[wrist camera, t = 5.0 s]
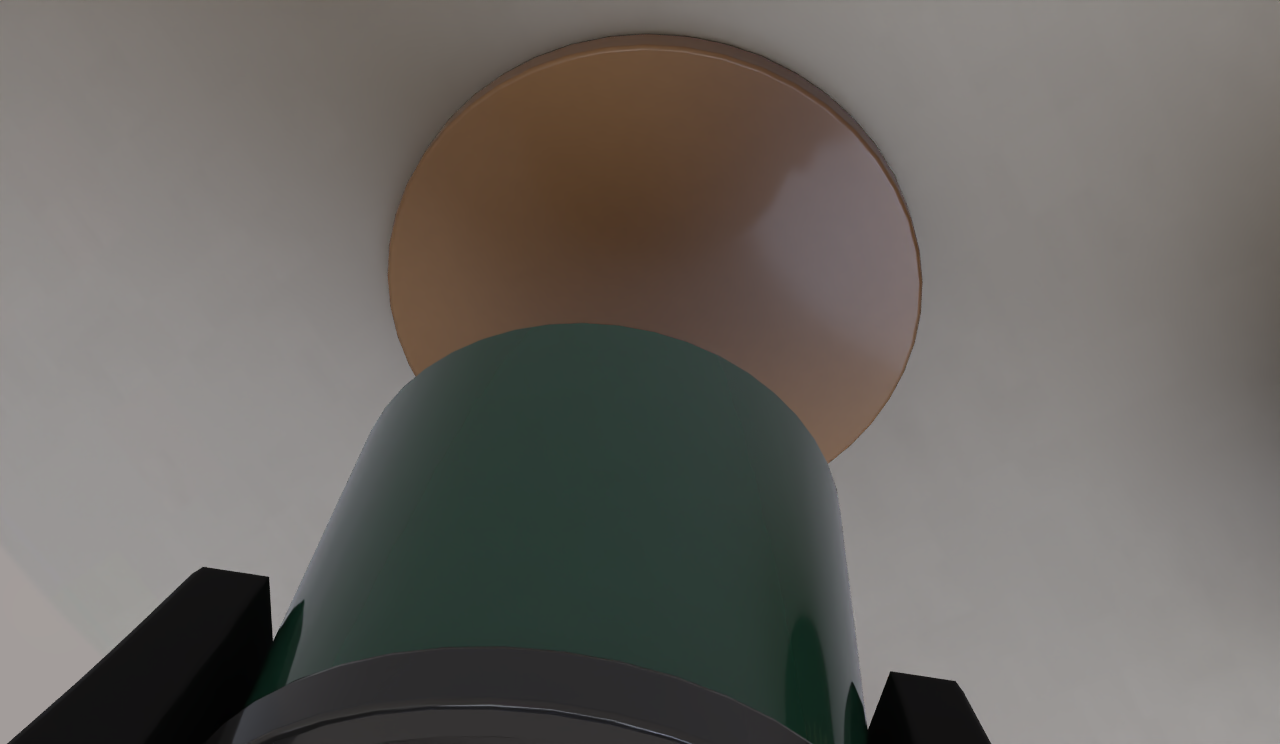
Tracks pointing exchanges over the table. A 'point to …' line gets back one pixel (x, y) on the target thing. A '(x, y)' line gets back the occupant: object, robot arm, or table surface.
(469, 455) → the pot
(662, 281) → the coaster
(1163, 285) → the table surface
